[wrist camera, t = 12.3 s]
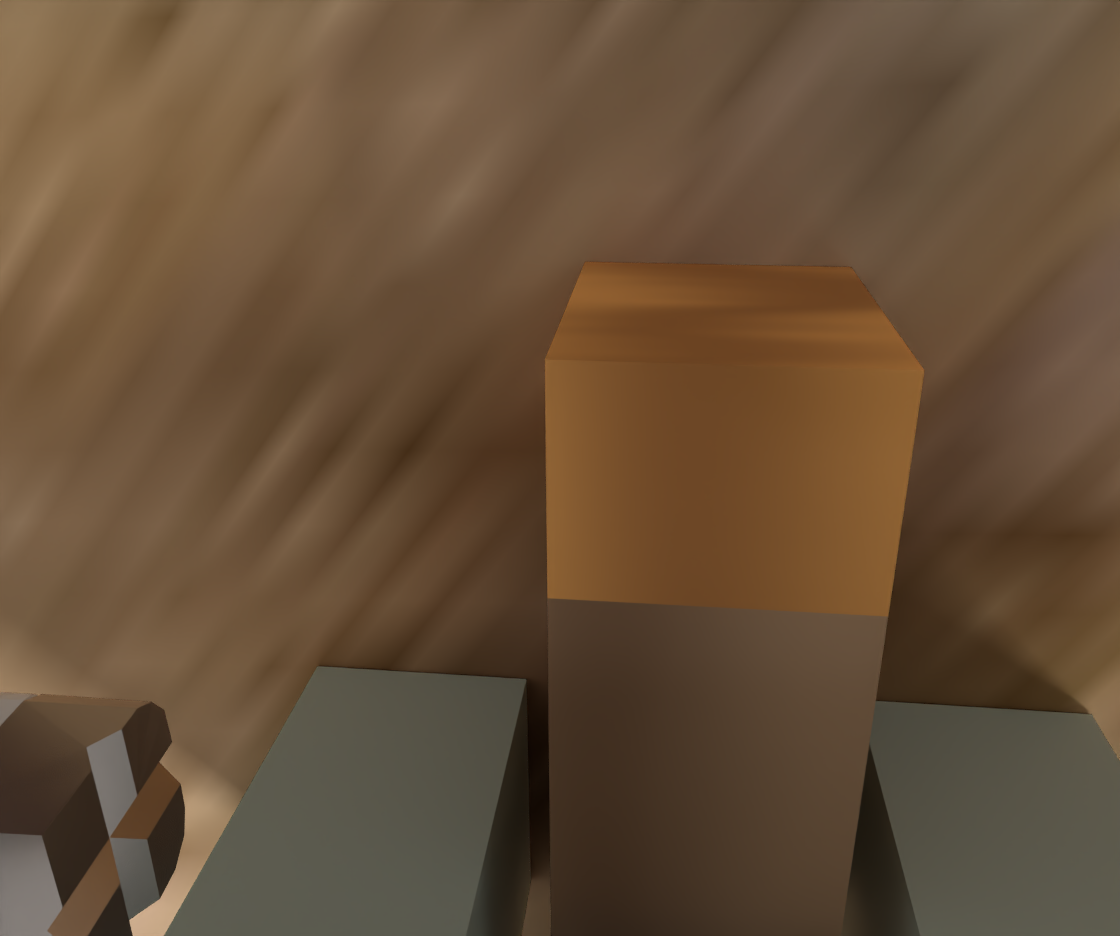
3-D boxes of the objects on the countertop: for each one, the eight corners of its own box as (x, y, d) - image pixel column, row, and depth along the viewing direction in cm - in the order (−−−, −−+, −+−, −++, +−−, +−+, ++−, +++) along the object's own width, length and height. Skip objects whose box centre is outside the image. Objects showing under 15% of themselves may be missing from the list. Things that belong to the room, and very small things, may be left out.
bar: (851, 267, 15) (925, 370, 10) (753, 1134, 23) (771, 1406, 19) (585, 262, 15) (545, 359, 11) (579, 1116, 23) (555, 1377, 19)
